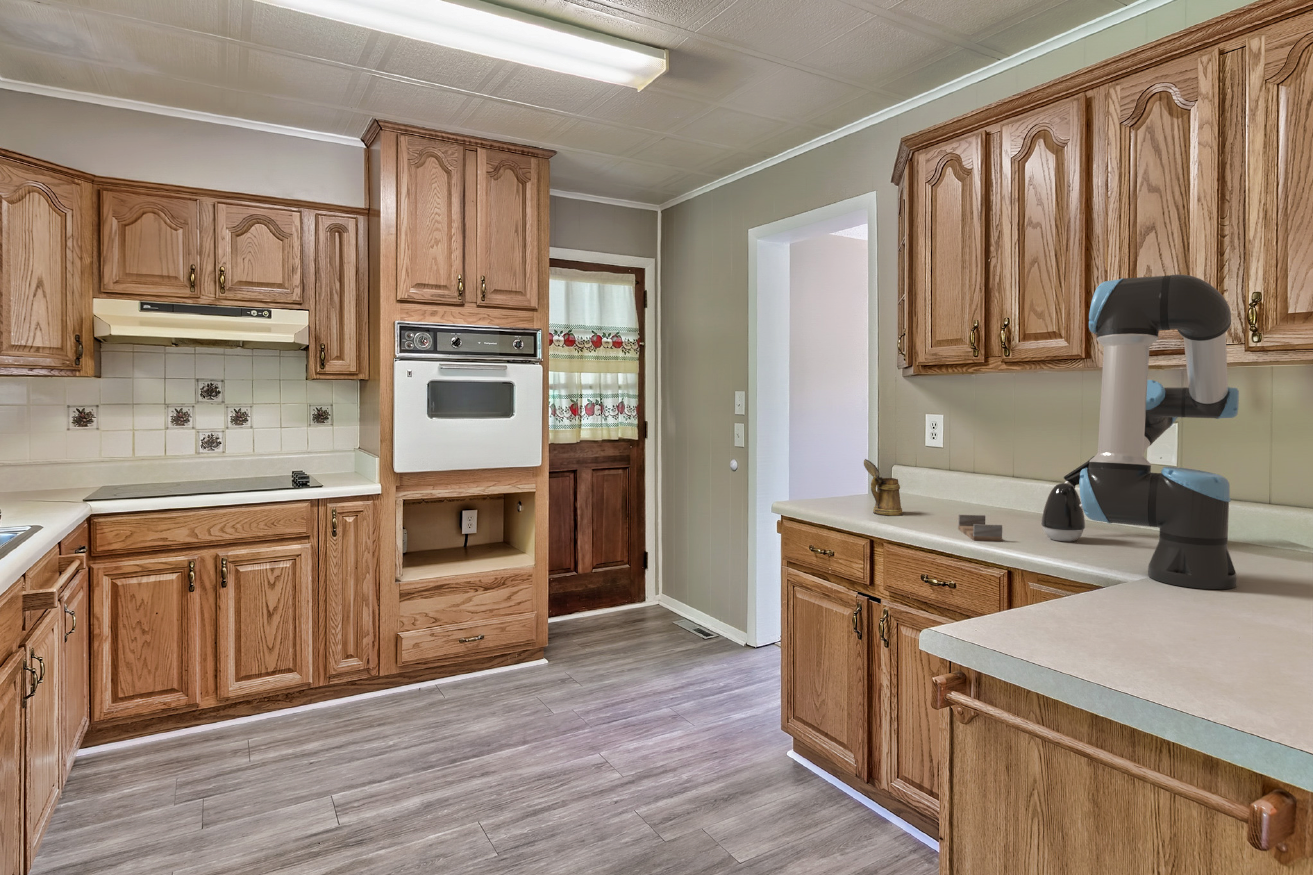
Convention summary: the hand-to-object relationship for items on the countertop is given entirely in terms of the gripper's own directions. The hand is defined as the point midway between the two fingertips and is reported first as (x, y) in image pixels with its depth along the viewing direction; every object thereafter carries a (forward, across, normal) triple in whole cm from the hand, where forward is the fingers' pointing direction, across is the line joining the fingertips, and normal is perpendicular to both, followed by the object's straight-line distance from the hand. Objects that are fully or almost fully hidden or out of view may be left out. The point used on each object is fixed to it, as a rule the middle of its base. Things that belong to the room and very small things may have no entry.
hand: (1067, 505), depth 200 cm
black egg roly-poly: (+8, -1, -5) cm, 10 cm away
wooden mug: (+32, +42, +19) cm, 56 cm away
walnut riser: (+21, +6, +8) cm, 23 cm away
